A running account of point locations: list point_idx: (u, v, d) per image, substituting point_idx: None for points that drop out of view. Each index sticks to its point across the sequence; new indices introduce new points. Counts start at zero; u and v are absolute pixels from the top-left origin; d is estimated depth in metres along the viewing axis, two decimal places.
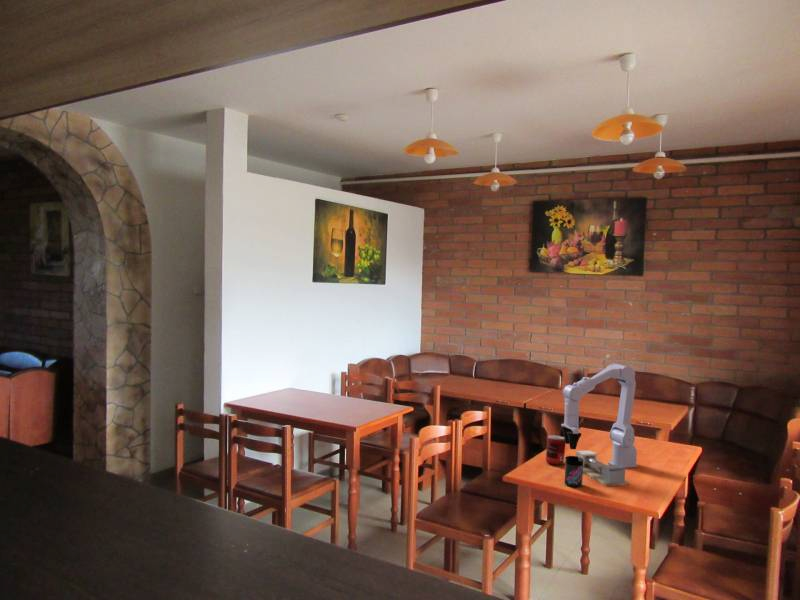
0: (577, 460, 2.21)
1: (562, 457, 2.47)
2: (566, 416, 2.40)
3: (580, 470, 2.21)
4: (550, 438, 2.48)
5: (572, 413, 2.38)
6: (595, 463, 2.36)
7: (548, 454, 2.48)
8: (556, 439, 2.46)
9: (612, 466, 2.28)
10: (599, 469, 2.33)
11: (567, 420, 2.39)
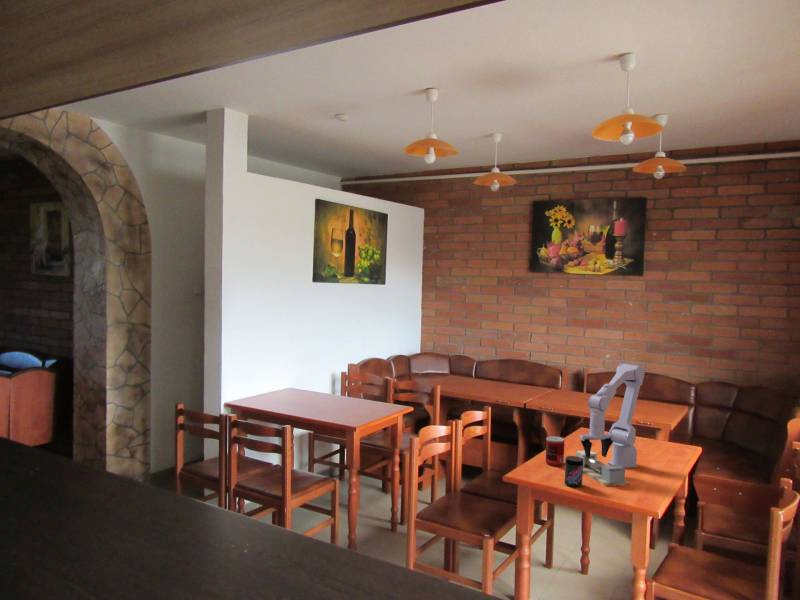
0: (577, 460, 2.21)
1: (562, 459, 2.46)
2: None
3: (580, 470, 2.21)
4: (549, 441, 2.47)
5: (600, 423, 2.35)
6: (595, 463, 2.36)
7: (547, 456, 2.48)
8: (555, 442, 2.45)
9: (612, 466, 2.28)
10: (599, 469, 2.33)
11: None
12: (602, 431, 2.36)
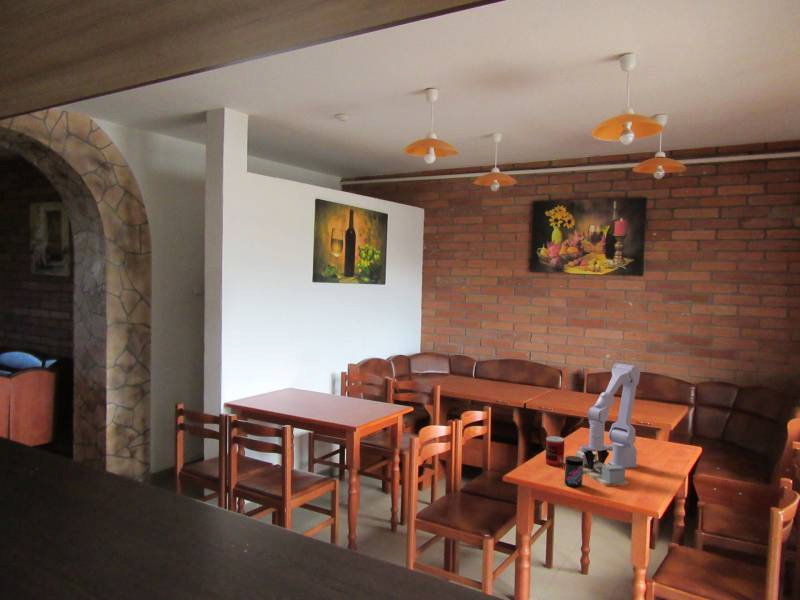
0: (577, 460, 2.21)
1: (562, 459, 2.46)
2: None
3: (580, 470, 2.21)
4: (549, 441, 2.47)
5: (600, 435, 2.35)
6: (595, 463, 2.36)
7: (547, 456, 2.48)
8: (555, 442, 2.45)
9: (612, 466, 2.28)
10: (599, 469, 2.33)
11: None
12: (602, 443, 2.36)
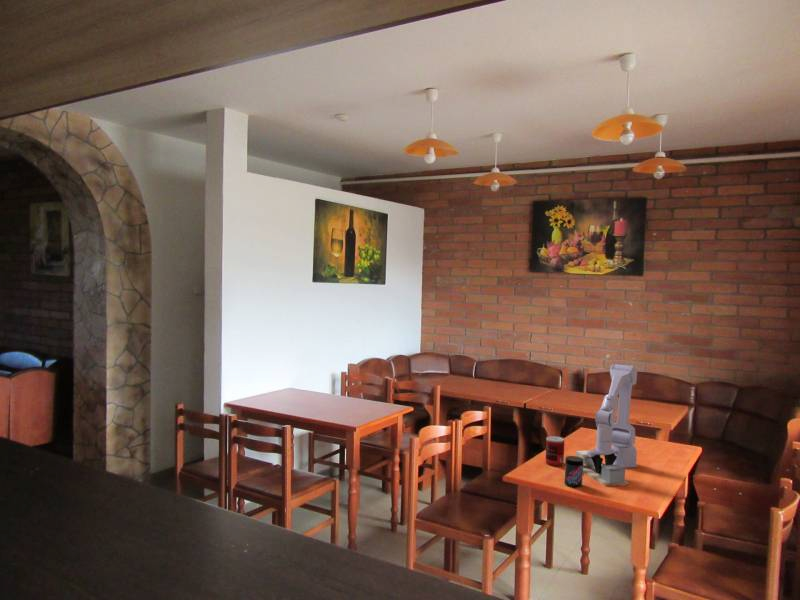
0: (577, 460, 2.21)
1: (562, 459, 2.46)
2: None
3: (580, 470, 2.21)
4: (549, 441, 2.47)
5: (609, 439, 2.31)
6: None
7: (547, 456, 2.48)
8: (555, 442, 2.45)
9: (612, 466, 2.28)
10: None
11: None
12: (610, 446, 2.31)
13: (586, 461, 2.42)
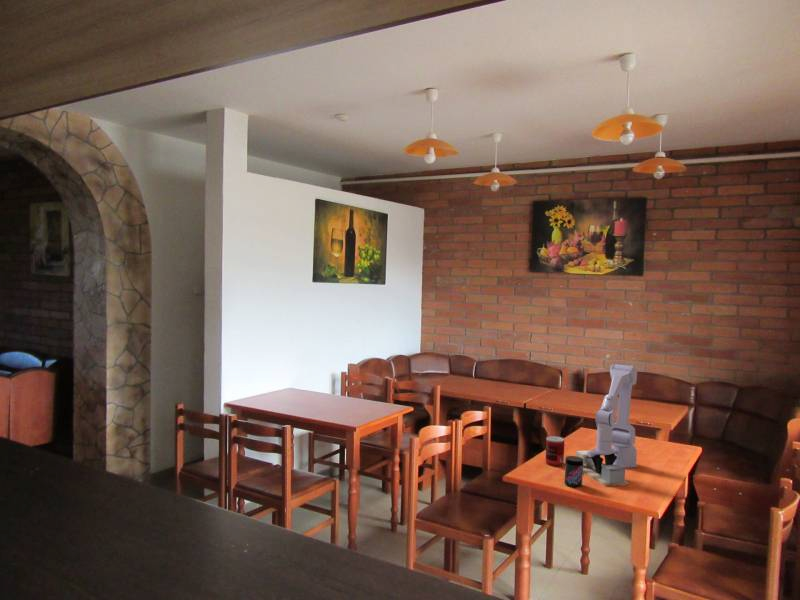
0: (577, 460, 2.21)
1: (562, 459, 2.46)
2: None
3: (580, 470, 2.21)
4: (549, 441, 2.47)
5: (609, 439, 2.31)
6: None
7: (547, 456, 2.48)
8: (555, 442, 2.45)
9: (612, 466, 2.28)
10: None
11: None
12: (610, 446, 2.31)
13: (586, 461, 2.42)
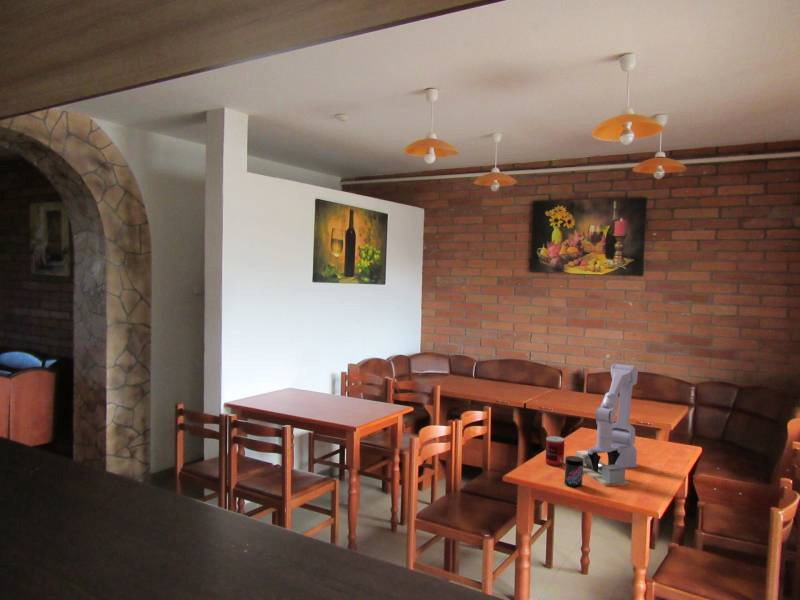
0: (577, 460, 2.21)
1: (562, 459, 2.46)
2: None
3: (580, 470, 2.21)
4: (549, 441, 2.47)
5: (609, 436, 2.31)
6: None
7: (547, 456, 2.48)
8: (555, 442, 2.45)
9: (612, 466, 2.28)
10: None
11: None
12: (610, 444, 2.31)
13: (586, 461, 2.42)
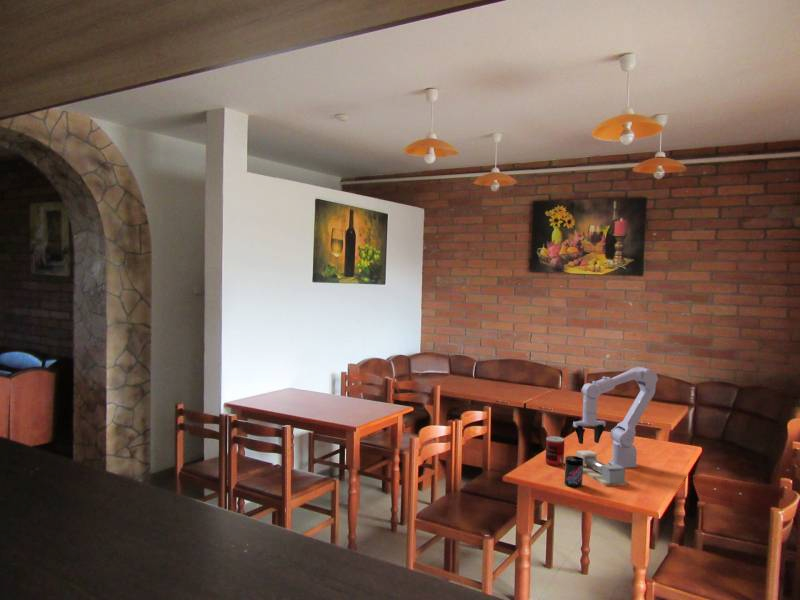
0: (577, 460, 2.21)
1: (562, 459, 2.46)
2: None
3: (580, 470, 2.21)
4: (549, 441, 2.47)
5: (589, 410, 2.44)
6: None
7: (547, 456, 2.48)
8: (555, 442, 2.45)
9: (612, 466, 2.28)
10: None
11: None
12: (594, 418, 2.45)
13: (586, 461, 2.42)
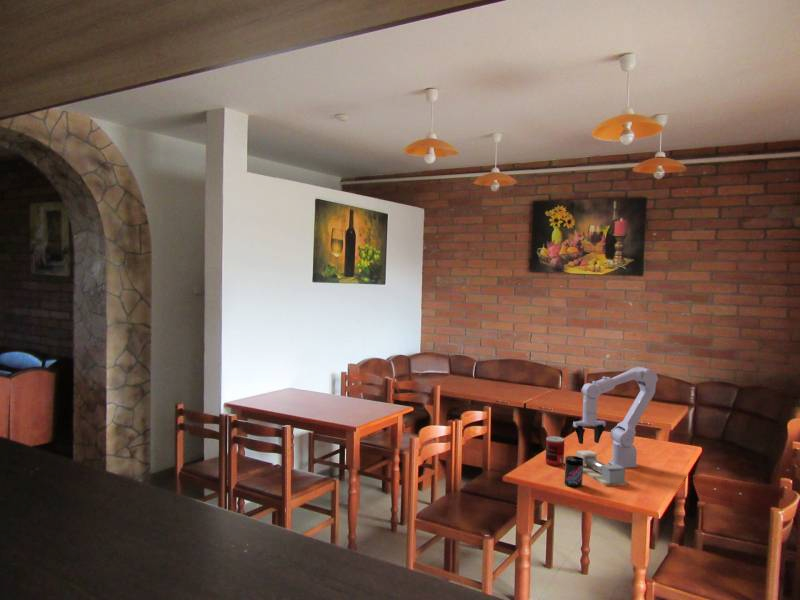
0: (577, 460, 2.21)
1: (562, 459, 2.46)
2: None
3: (580, 470, 2.21)
4: (549, 441, 2.47)
5: (589, 410, 2.44)
6: None
7: (547, 456, 2.48)
8: (555, 442, 2.45)
9: (612, 466, 2.28)
10: None
11: None
12: (594, 418, 2.45)
13: (586, 461, 2.42)
